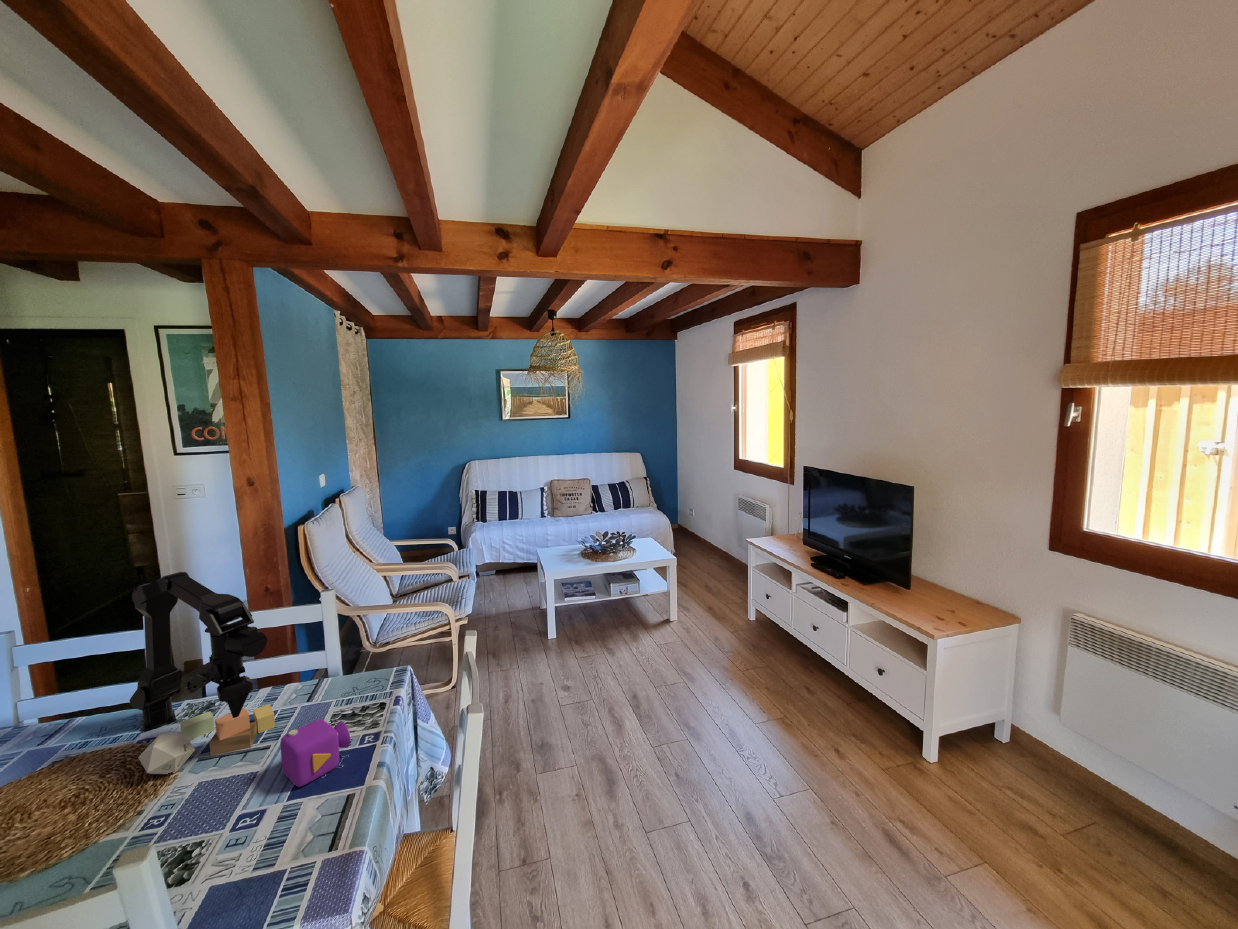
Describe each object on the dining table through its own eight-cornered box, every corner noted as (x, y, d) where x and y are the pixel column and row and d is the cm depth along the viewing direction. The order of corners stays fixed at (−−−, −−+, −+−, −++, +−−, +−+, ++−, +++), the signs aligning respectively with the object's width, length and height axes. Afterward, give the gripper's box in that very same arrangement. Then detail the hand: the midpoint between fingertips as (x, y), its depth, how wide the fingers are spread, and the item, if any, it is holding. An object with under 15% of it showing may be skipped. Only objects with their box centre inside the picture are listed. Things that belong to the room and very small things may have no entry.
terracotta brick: (216, 734, 118) (214, 719, 118) (246, 722, 123) (244, 708, 122) (219, 740, 116) (218, 725, 115) (250, 728, 120) (248, 713, 120)
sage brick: (181, 736, 123) (180, 722, 123) (211, 725, 128) (210, 711, 127) (184, 742, 121) (182, 727, 120) (214, 730, 125) (213, 716, 125)
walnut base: (219, 744, 120) (217, 729, 120) (257, 736, 123) (256, 721, 123) (210, 757, 116) (209, 741, 115) (250, 748, 119) (249, 733, 118)
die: (148, 793, 105) (181, 750, 107) (119, 769, 106) (152, 727, 109) (181, 778, 113) (211, 738, 116) (154, 757, 114) (184, 717, 117)
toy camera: (360, 754, 116) (358, 716, 115) (303, 794, 104) (300, 751, 103) (331, 742, 121) (329, 704, 120) (274, 778, 108) (270, 737, 108)
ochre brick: (258, 734, 124) (257, 719, 124) (254, 723, 128) (253, 709, 128) (275, 727, 127) (274, 713, 126) (270, 717, 131) (269, 704, 130)
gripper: (178, 649, 117) (184, 709, 119) (188, 676, 105) (194, 742, 106) (235, 634, 126) (240, 690, 127) (250, 657, 113) (255, 719, 115)
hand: (232, 709), depth 119 cm, fingers open, 9 cm apart
